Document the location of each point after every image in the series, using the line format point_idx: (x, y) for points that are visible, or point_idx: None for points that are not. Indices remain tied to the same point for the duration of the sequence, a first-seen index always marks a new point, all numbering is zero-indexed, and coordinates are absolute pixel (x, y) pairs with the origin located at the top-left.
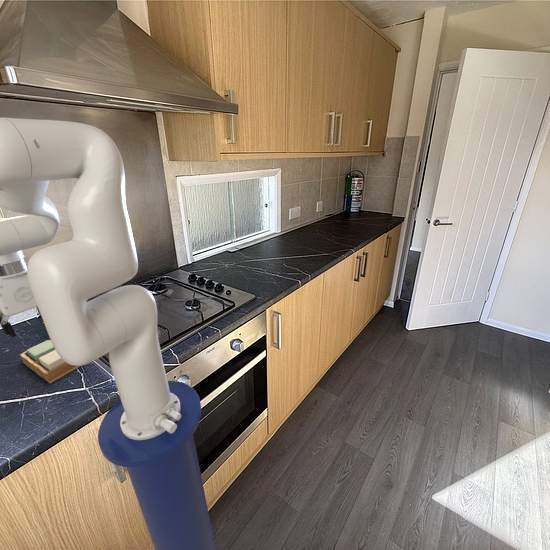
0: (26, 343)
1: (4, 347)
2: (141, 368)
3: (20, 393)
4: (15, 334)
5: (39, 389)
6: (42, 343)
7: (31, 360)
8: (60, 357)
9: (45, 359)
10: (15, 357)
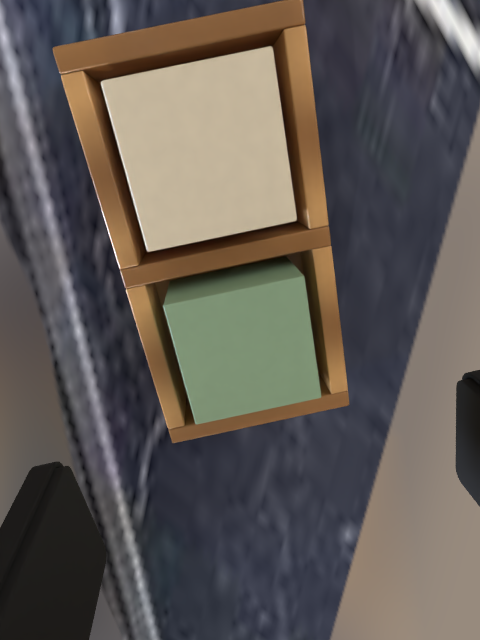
0: (276, 539)
1: (350, 566)
2: None
3: (420, 76)
4: (467, 383)
5: (343, 16)
6: (233, 404)
7: (322, 280)
8: (177, 77)
9: (267, 155)
10: (341, 453)
